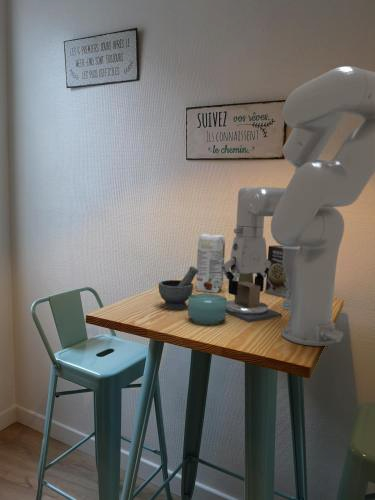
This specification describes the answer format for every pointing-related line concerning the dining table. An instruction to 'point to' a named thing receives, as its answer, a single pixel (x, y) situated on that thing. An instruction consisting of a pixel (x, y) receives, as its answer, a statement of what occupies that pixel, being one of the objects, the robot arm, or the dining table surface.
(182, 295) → the mortar and pestle
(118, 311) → the dining table surface
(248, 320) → the mat
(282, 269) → the coffee box
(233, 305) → the lid
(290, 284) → the chalice
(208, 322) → the bowl
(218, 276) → the juice carton
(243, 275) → the olive pawn
